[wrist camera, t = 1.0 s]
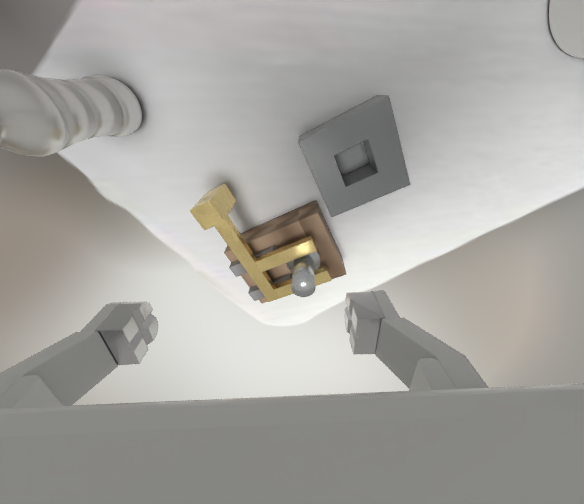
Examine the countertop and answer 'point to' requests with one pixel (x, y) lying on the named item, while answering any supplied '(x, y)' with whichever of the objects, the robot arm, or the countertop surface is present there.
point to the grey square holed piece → (379, 147)
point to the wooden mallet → (215, 213)
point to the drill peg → (304, 274)
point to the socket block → (285, 233)
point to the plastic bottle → (62, 111)
